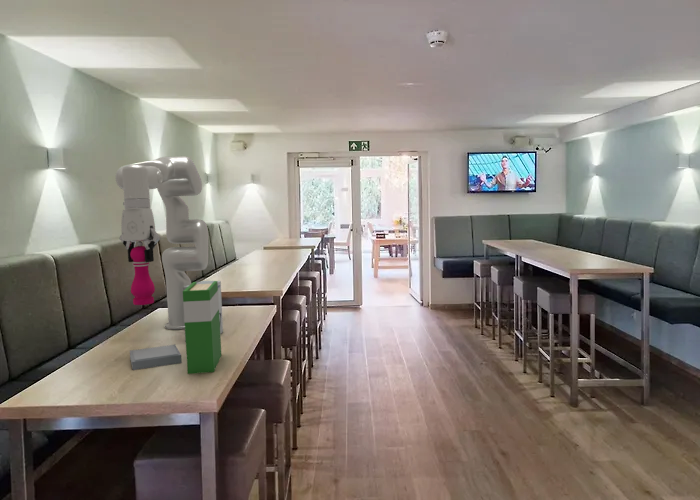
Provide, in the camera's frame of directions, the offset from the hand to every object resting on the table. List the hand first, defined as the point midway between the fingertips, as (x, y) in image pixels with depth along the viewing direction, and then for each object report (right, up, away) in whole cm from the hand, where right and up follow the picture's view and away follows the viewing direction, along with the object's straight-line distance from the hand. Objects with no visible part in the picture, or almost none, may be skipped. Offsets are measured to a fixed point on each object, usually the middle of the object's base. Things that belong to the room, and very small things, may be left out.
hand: (141, 261), depth 173 cm
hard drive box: (+14, -28, +24) cm, 40 cm away
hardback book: (+23, -31, -8) cm, 39 cm away
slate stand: (+5, -31, -3) cm, 32 cm away
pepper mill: (0, -14, +1) cm, 14 cm away
